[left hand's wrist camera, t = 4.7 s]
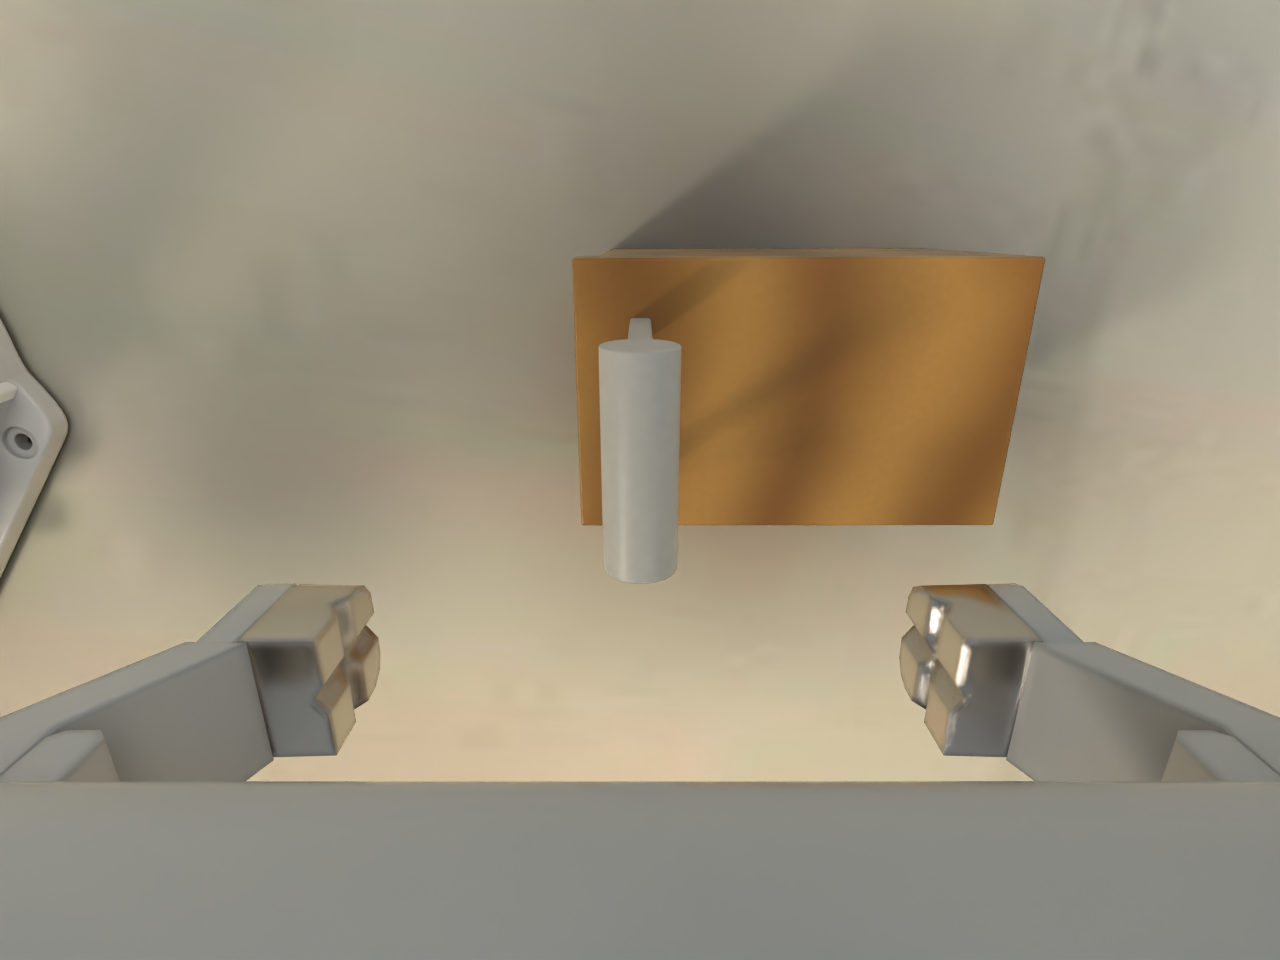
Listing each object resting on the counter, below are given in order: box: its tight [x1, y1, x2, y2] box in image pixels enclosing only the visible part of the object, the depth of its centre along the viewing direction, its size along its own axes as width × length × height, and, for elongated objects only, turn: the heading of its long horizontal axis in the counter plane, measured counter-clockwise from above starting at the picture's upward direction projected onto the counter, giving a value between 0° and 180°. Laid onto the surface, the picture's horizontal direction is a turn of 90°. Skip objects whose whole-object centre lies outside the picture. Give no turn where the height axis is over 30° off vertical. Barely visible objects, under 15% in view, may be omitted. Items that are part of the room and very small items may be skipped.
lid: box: [572, 256, 1045, 584], centre depth 21 cm, size 16×10×9 cm, turn 90°
